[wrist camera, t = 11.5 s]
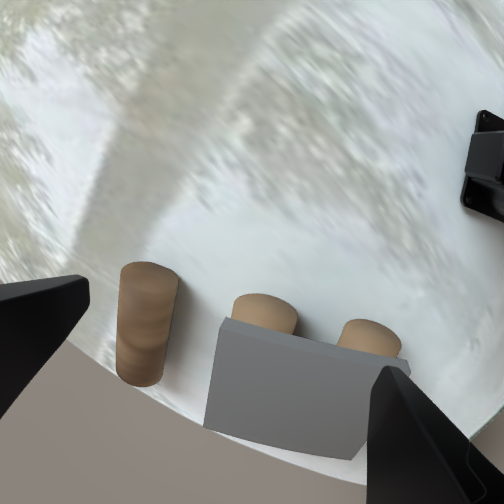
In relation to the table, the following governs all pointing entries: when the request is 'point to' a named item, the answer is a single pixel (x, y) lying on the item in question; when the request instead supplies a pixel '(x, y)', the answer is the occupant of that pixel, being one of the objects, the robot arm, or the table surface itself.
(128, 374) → the roller
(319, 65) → the table surface
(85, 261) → the table surface
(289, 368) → the slab on rollers
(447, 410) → the table surface
